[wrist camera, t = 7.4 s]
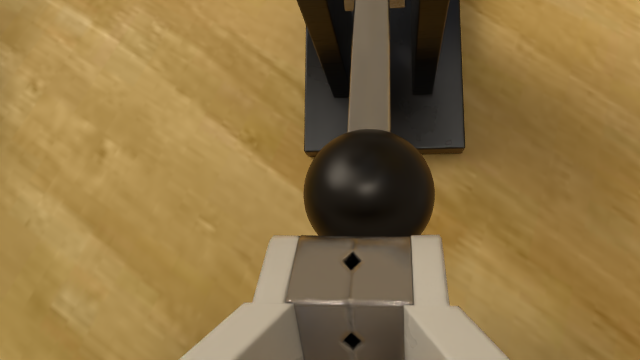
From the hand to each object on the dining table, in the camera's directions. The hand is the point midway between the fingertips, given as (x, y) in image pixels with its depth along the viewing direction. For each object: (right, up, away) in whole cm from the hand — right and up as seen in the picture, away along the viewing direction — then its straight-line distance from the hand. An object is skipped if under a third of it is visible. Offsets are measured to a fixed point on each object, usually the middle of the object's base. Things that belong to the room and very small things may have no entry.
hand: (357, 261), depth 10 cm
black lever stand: (+3, +8, +19) cm, 20 cm away
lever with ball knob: (+1, +4, +7) cm, 9 cm away
